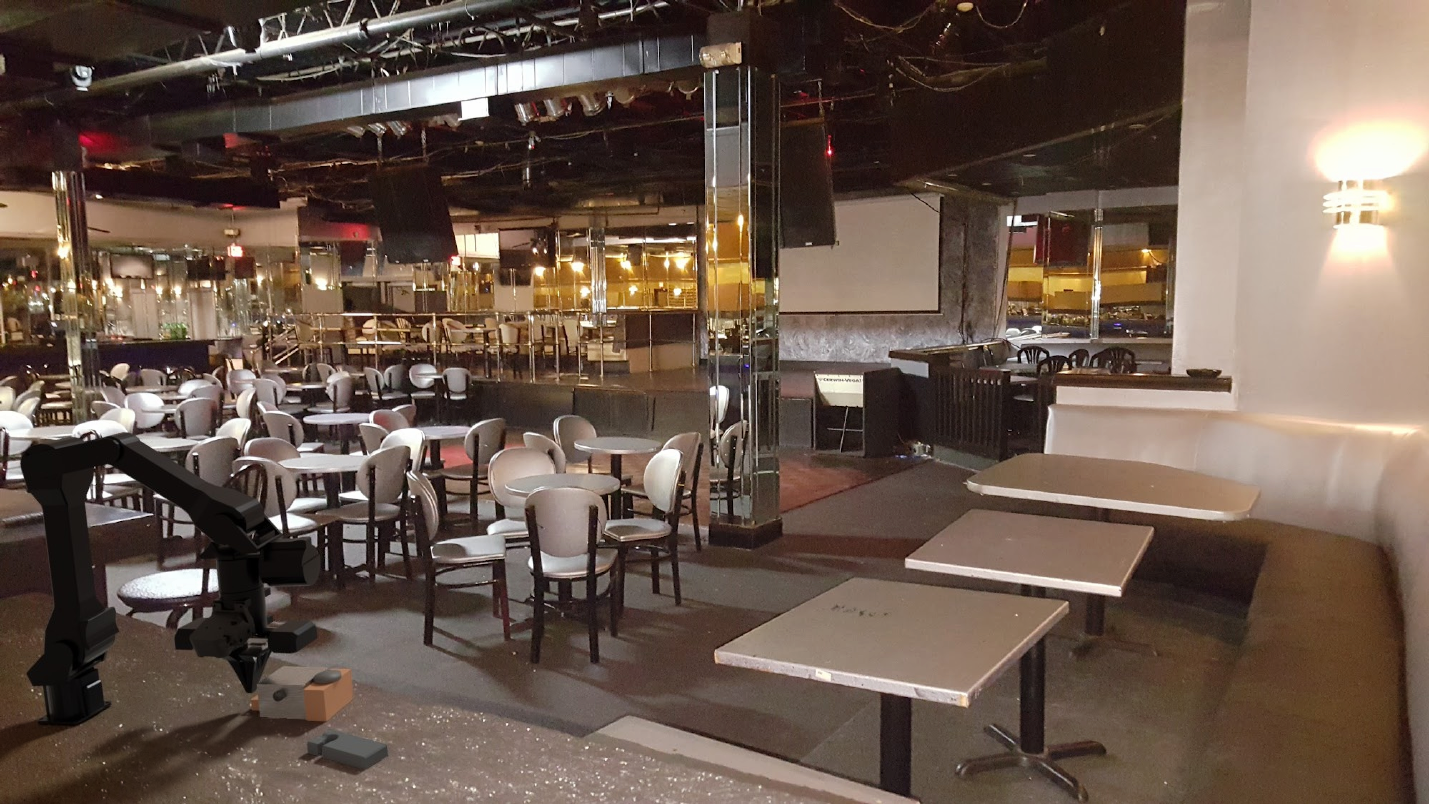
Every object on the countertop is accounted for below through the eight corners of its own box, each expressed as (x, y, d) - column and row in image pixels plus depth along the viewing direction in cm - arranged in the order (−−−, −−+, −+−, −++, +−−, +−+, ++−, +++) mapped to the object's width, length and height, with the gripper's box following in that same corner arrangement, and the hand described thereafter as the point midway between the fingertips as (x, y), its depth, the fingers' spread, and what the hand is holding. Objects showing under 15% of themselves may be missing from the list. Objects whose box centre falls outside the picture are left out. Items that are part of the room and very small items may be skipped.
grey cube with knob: (256, 720, 126) (253, 686, 125) (286, 698, 133) (282, 666, 132) (303, 722, 125) (299, 687, 124) (330, 700, 132) (327, 667, 131)
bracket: (365, 773, 112) (363, 757, 111) (306, 756, 116) (305, 741, 116) (389, 758, 115) (388, 743, 115) (332, 742, 120) (330, 728, 120)
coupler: (240, 718, 127) (236, 683, 126) (271, 696, 134) (268, 663, 133) (328, 721, 125) (325, 686, 124) (355, 698, 132) (352, 665, 131)
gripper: (138, 605, 121) (150, 715, 123) (266, 608, 119) (276, 721, 121) (196, 578, 132) (207, 680, 134) (315, 581, 130) (323, 685, 132)
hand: (251, 692), depth 130 cm, fingers closed
